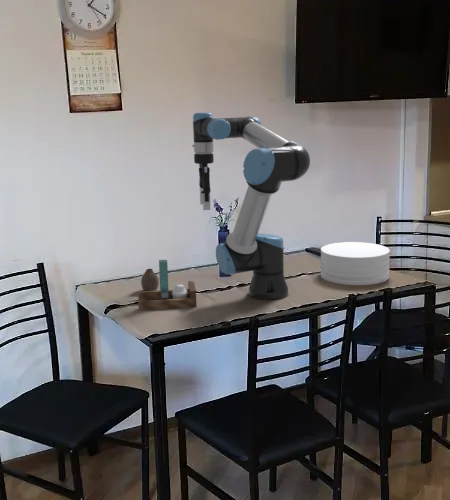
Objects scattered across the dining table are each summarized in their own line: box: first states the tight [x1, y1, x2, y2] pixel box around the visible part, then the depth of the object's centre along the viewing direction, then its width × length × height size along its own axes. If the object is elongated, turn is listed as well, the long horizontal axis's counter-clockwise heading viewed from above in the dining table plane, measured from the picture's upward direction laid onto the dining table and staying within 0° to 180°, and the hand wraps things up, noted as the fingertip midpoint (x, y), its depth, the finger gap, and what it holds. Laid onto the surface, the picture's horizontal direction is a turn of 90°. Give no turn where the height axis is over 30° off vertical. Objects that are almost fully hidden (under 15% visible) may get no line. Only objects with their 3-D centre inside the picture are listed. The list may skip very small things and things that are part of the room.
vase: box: [140, 268, 160, 291], centre depth 273 cm, size 7×7×9 cm
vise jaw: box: [158, 259, 170, 300], centre depth 256 cm, size 3×10×16 cm, turn 7°
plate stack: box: [320, 241, 391, 286], centre depth 288 cm, size 28×28×12 cm
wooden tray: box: [137, 280, 198, 311], centre depth 257 cm, size 21×14×6 cm, turn 97°
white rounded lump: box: [172, 284, 188, 299], centre depth 257 cm, size 6×6×7 cm
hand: (205, 207), depth 274 cm, fingers open, 13 cm apart
